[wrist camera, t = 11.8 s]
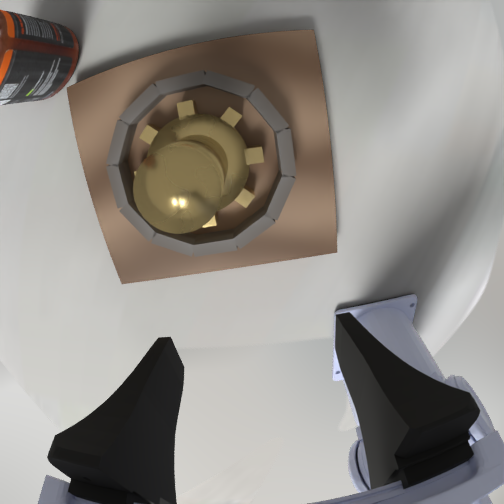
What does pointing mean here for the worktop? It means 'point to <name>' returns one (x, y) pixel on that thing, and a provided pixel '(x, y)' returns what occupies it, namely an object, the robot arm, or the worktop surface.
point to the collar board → (249, 126)
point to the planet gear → (193, 170)
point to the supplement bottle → (34, 58)
